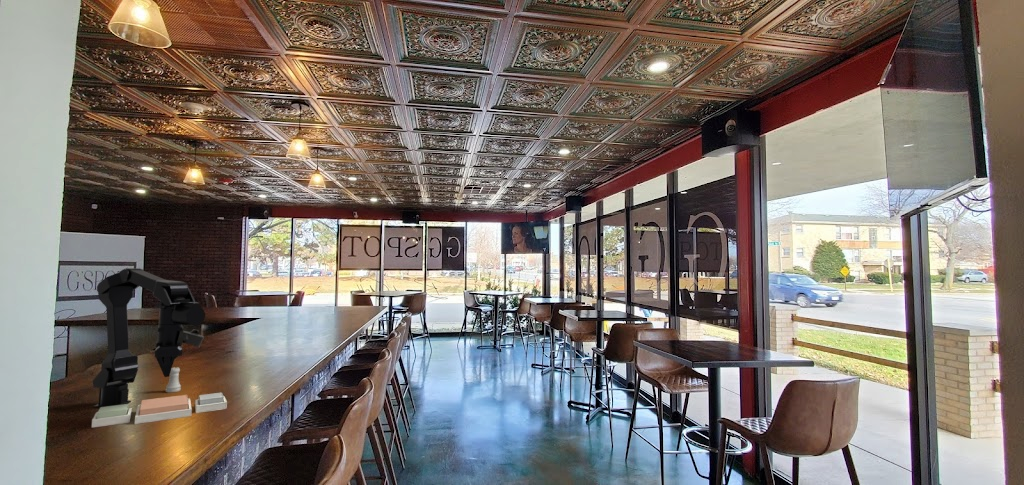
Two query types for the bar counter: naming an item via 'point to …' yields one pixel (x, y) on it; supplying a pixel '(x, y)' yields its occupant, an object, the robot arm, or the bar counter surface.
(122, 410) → the sage button
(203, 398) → the grey button
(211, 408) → the grey collar
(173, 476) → the bar counter surface
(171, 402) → the terracotta button
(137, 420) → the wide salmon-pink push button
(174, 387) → the rook chess piece
